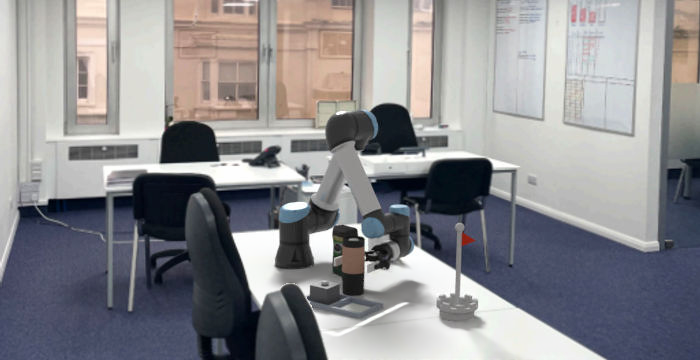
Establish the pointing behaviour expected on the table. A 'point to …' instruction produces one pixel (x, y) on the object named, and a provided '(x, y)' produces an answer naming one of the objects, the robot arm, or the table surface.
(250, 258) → the table surface
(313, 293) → the seated block
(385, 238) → the cable organizer
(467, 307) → the flag stand
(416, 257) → the table surface
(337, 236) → the coffee jar
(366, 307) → the dock
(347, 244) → the travel mug
